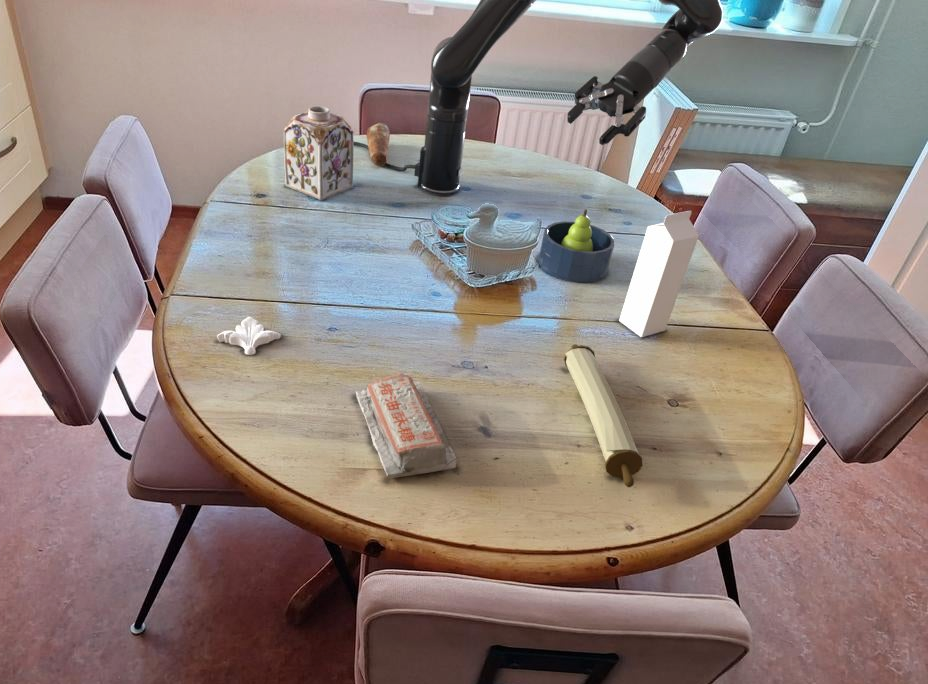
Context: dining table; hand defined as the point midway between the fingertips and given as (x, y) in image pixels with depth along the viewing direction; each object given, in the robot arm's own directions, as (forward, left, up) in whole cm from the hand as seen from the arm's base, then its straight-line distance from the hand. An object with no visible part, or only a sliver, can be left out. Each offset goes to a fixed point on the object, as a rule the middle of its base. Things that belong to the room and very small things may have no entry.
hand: (584, 131), depth 141 cm
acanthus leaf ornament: (-31, -70, -23) cm, 80 cm away
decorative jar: (-57, -11, -23) cm, 62 cm away
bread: (-56, +17, -23) cm, 63 cm away
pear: (+6, -12, -22) cm, 26 cm away
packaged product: (+1, -76, -23) cm, 79 cm away
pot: (+6, -12, -23) cm, 27 cm away
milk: (+24, -27, -23) cm, 43 cm away
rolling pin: (+24, -58, -23) cm, 67 cm away
